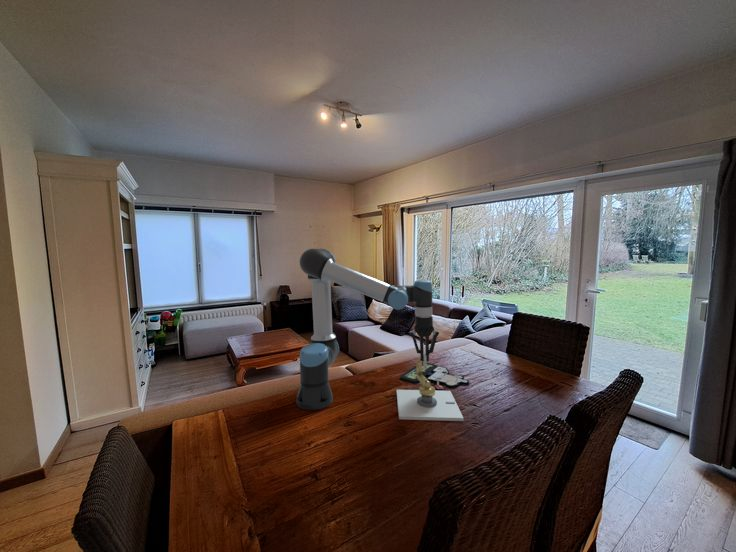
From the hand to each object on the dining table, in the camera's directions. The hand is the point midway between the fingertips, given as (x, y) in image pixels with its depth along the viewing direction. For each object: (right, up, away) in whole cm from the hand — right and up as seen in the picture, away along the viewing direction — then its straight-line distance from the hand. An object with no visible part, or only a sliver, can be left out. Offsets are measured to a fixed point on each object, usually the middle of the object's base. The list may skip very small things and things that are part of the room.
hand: (424, 368), depth 131 cm
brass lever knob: (-2, -7, -6) cm, 10 cm away
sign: (+9, -11, +18) cm, 23 cm away
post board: (-1, -13, -9) cm, 15 cm away
